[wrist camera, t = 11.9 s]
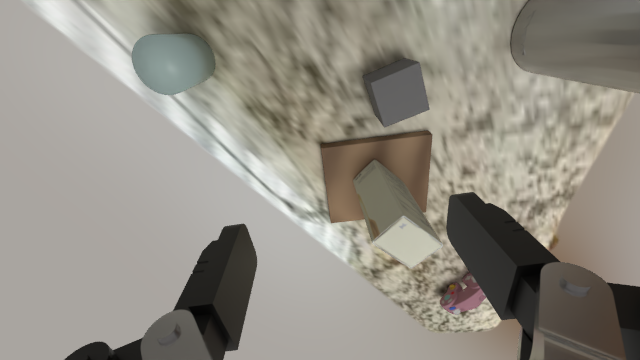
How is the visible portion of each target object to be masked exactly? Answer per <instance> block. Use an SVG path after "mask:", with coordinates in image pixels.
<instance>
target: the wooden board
mask: <svg viewBox="0 0 640 360" xmlns="http://www.w3.org/2000/svg"><path fill="white" fill-rule="evenodd" d="M431 145H432V134H431V133H430V132H429V131H421V132H413V133H405V134H397V135H389V136H381V137H373V138H366V139H358V140H350V141H342V142H334V143H326V144H321V152H322V159H323V167H324V174H325V182H326V189H327V197H328V205H329V212H330V220H331V223H336V222H345V221H353V220H362V219H365V218H364V215H363V211H362V208H361V205H360V202H359V198H358V195H357V192H356V189H355V186H354V183H353V180H354V179H355V178H356V176H357V175H358V174H359V173H360V172H361V171H362V170H363V169H364V168H365V167H366V166H368V165H369V164H370V163H371V162H372V161H373V160H374V159H375V160H376V161H378V162H379V163H380V164H382V165H383V166H384V167H386V168H387V169H388V170H389V171H391V172H392V173H393V174H394V175H396V176H397V177H398V178H399V179H400V180H401V181H403V182H404V184H405V185H406V187H407V188H408V190H409V192H410V193H411V195H412V196H413V198H414V199H415V201H416V203H417V204H418V206H419V207H420V209H421V210H422V212H426V205H427V193H428V181H429V169H430V157H431Z"/></svg>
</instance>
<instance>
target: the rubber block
mask: <svg viewBox="0 0 640 360" xmlns="http://www.w3.org/2000/svg"><path fill="white" fill-rule="evenodd" d="M363 78H364V81H365V85H366V88H367V91H368V94H369V97H370V100H371V103H372V106H373V110H374V113H375V115H376V117H377V118H378V119H379V121H380V122H381V124H382V125H383V126H384V127H387V126H389V125H392V124H394V123H397V122H399V121H402V120H404V119H407V118H409V117H412V116H415V115H417V114H420V113H422V112H425V111H427V110H430V109H429V104H428V100H427V95H426V90H425V86H424V81H423V77H422V72H421V67H420V63H419V62H416V61H413V60H409V59H406V58H403V59H401V60H399V61H396V62H394V63H392V64H390V65H387V66H385V67H383V68H380V69H378V70H376V71H373V72H371V73H369V74H367V75H364V76H363Z"/></svg>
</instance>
